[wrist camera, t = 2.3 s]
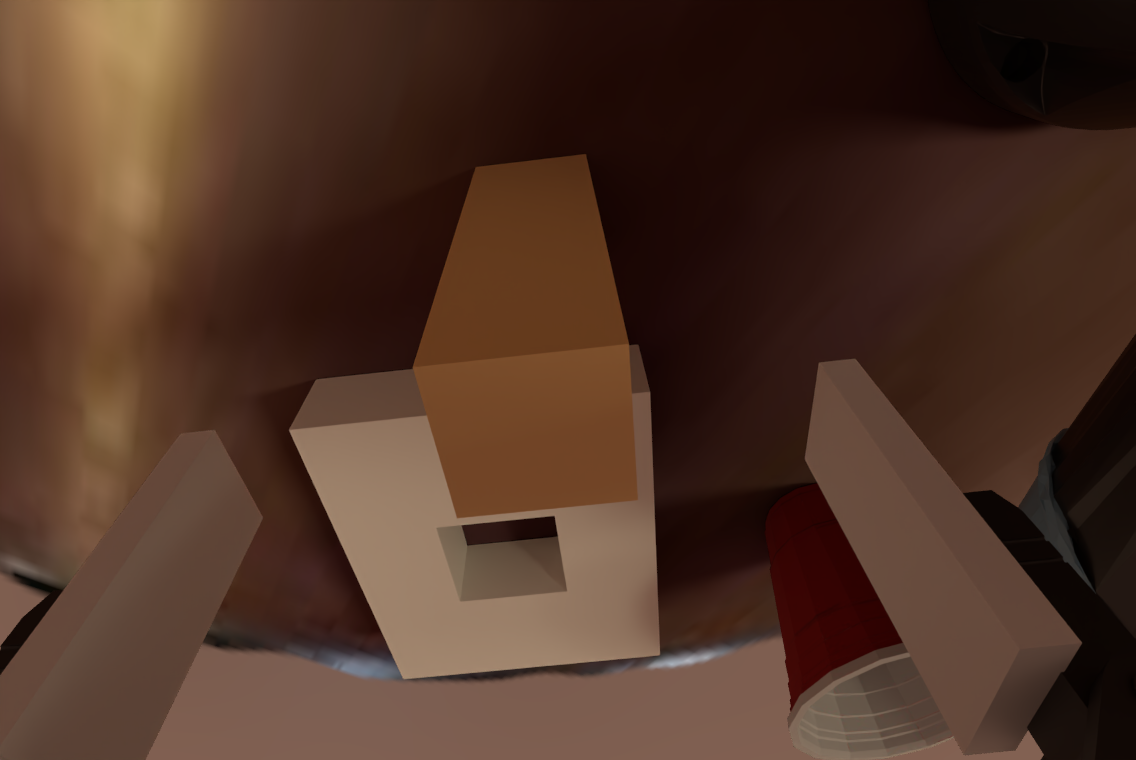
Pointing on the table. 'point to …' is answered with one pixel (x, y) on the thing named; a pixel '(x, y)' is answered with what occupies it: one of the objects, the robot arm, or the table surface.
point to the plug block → (529, 348)
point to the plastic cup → (841, 644)
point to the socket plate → (476, 572)
